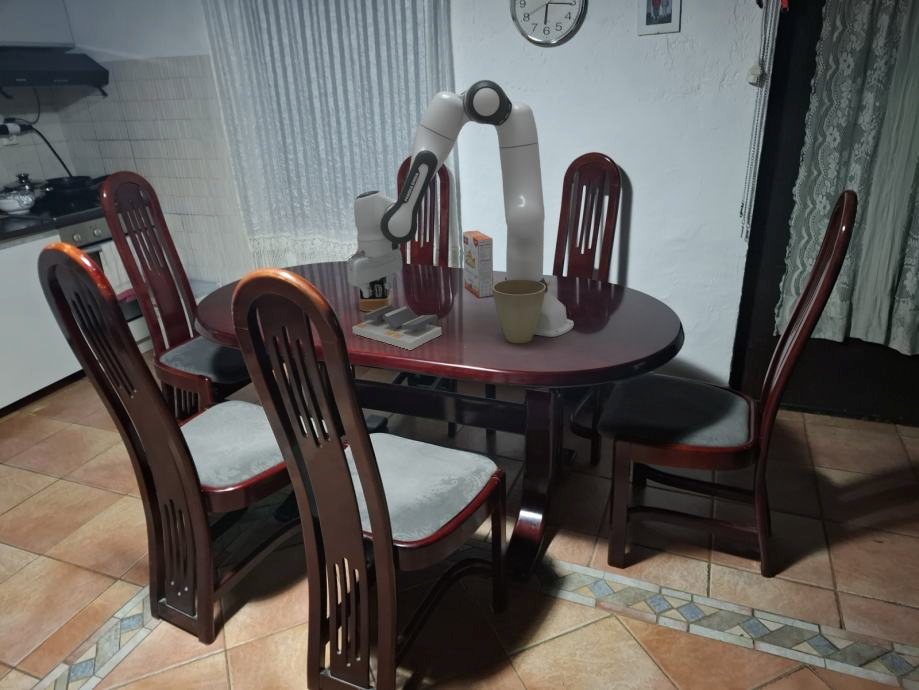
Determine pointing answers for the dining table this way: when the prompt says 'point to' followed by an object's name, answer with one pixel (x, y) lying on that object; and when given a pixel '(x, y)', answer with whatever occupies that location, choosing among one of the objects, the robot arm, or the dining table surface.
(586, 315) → the dining table surface
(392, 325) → the rocker middle
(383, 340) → the switch panel
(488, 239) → the cracker box
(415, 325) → the panel
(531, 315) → the plant pot
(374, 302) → the whiskey bottle
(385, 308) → the rocker outer
